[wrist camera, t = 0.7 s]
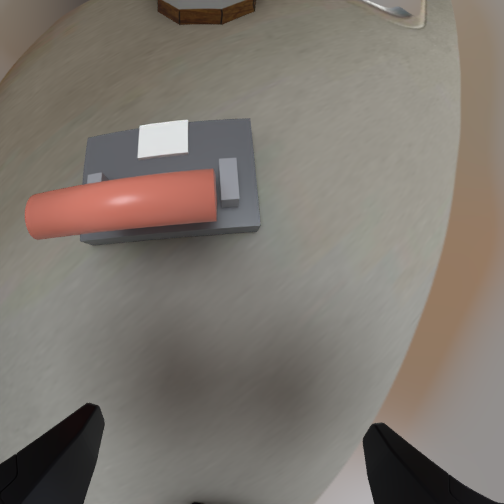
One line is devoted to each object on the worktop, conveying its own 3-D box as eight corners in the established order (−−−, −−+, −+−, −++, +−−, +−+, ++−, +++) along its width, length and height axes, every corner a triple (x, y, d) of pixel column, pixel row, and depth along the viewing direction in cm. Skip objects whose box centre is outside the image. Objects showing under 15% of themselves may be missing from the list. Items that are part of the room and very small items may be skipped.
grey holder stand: (256, 231, 23) (264, 219, 19) (93, 245, 22) (67, 237, 18) (247, 133, 24) (252, 105, 20) (98, 149, 23) (78, 127, 19)
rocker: (217, 202, 20) (216, 224, 10) (111, 213, 20) (28, 244, 9) (215, 174, 20) (212, 167, 10) (109, 186, 19) (22, 196, 9)
